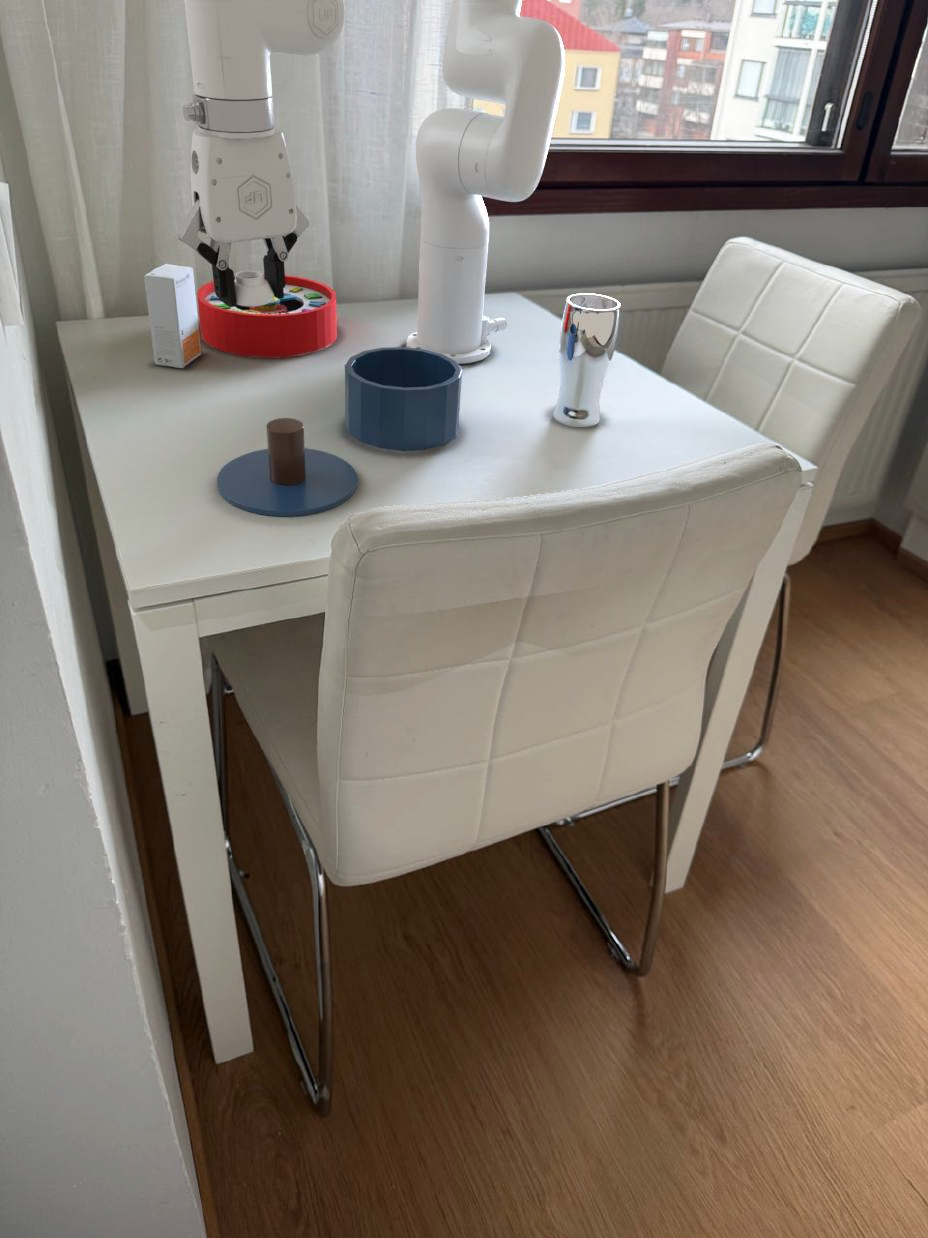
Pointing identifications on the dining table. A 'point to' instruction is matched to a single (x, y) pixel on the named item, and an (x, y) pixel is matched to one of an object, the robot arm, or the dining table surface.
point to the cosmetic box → (173, 315)
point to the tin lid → (286, 476)
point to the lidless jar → (252, 289)
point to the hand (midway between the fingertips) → (251, 297)
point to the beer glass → (585, 356)
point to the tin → (402, 398)
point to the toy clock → (271, 321)
